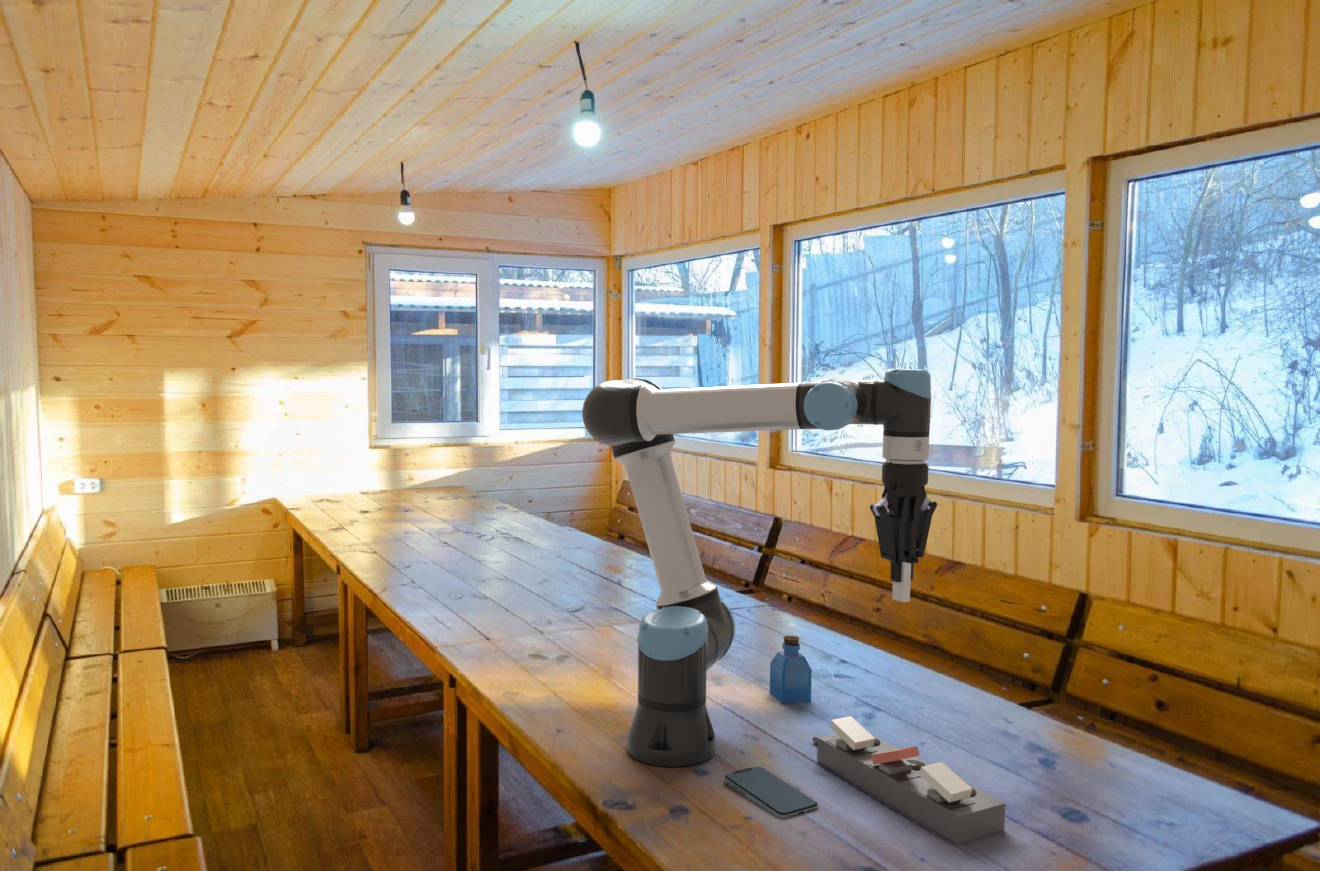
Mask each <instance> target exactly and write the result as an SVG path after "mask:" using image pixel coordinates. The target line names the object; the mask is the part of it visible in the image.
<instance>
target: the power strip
mask: <svg viewBox="0 0 1320 871" xmlns="http://www.w3.org/2000/svg"><path fill="white" fill-rule="evenodd" d="M870 734H871V735H872V736H873V737H874V738H875V741H874V745H873V746H870V747H866V748H861V749H857V750H853V749H852V748H851V747H850V746H849V745H848V744H847V743H846V742H845V741H844V740H843V739H842V738H841V737H840V736H839V735H838V734H836V733H833V734H828V735H824V736H813V737H812V742H813V743H815V744H817V746H816V748H817V750H816V752H817V753H816V761H817V762H818V763H819V764H822V765H823V766H825V767H826V768H828V769H830V770H831V771H833V772H836V773H837V774H838V775H840V776H842V777H844V778H845V779H847V780H848V781H850V782H852V783H854V784H855V785H857V786H859V787H860V788H862V789H863V790H865V791H867V792H868V793H870V794H872V795H874V796H876V797H877V798H879V799H881V801H884V802H886V803H887V804H888V805H891V806H892V807H894V808H896V809H898V810H900V811H901V812H903V813H905V814H906V815H907V816H908V817H909V816H910V817H911V818H913V819H914V820H916V821H918V822H919V823H921V824H923V825H925V826H926V827H928V828H930V829H931V830H933V831H935V832H936V833H938V834H940V835H941V836H943V837H945V838H946V839H948V840H949V841H951V842H953V843H955V844H957V845H960V844H963V843H965V842H966V843H967V842H969V841H973V840H976V839H980V838H983V837H986V836H990V835H994V834H996V833H997V834H998V833H1000V832H1003V831H1005V823H1006V822H1005V821H1006V818H1005V817H1006V802H1004V801H1001V800H1000V799H997V798H996V797H994V796H992V795H990V794H988V793H987V792H985V791H983V790H980V789H978V788H976V787H975V786H973V785H970V784H968V783H966V782H965V783H966V784H968V785H969V786H970V787H971V788H972V793H971V796H970V797H968V798H965V799H961V800H957V801H953V802H950V803H949V802H948V801H947V800H946V799H945V798H944V797H943V796H942V795H941V794H939V793H938V792H937V791H936V790H935V789H934V788H933V787H932V786H931V785H930V784H929V783H928V782H926V781H925V780H924V779H923V778H922V777H921V776H920V775H919V773H920V769H921V767H922V766H926V765H930V763H928V762H926V761H924V760H922V759H920V758H918V757H917V756H916V757H911V758H907V759H903V760H898V761H892V762H886V763H879V764H873V760H872V756H871V755H874V754H879V753H883V752H888V751H892V750H898V749H900V748H899V747H897V746H895V745H892V744H891V743H889V742H888V741H885V740H883V739H881V738H879V737H878V736H875V735H873V734H872V733H870Z"/></svg>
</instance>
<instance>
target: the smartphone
mask: <svg viewBox="0 0 1320 871" xmlns="http://www.w3.org/2000/svg"><path fill="white" fill-rule="evenodd" d="M724 783H725V784H727V786H729V787H730V788H732V789H733V790H735V791H736V792H738V793H740V794H741V795H742V796H744V797H746V798H747V799H748V800H750V801H752V802H753V803H755V804H757V805H758V806H760V807H761V808H762V809H765V810H766V811H767V812H769V813H771V814H772V815H774V816H775V817H777V818H778V819H779V818H780V819H788V818H791V817H794V816H798V815H801V814H805V813H808V812H812V811H814V810H817V809H818V802H817V801H815V800H814V799H812V798H811V797H810V796H808V795H806V794H805V793H803V792H801V791H800V790H798V789H797V788H795V787H793V786H792V785H790V784H789V783H788V782H787V781H785V780H782V779H781V778H780V777H778V776H776V775H775V774H773V773H772V772H770V771H769V770H767V769H766V768H764V767H761V766H753V767H747V768H744V769H740V770H737V771H732V772H728V773H727V774H725V775H724Z"/></svg>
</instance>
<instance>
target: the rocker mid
mask: <svg viewBox="0 0 1320 871" xmlns="http://www.w3.org/2000/svg"><path fill="white" fill-rule="evenodd" d="M871 756H872V760H873V764H879V763H886V762H892V761H898V760H903V759H907V758H911V757H916V758H917V757H919V756H921V755H920V752H919V747H918V746H917V745H916V746H911V747H909V746H908V747H904V748H899V749H898V750H892V751H888V752H883V753H879V754H874V755H871Z"/></svg>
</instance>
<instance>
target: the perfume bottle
mask: <svg viewBox="0 0 1320 871" xmlns="http://www.w3.org/2000/svg"><path fill="white" fill-rule="evenodd" d="M799 641H800V637H799V636H796V635H784V636H783V642H782V644H781V645H782V647H781V648H782V649H783V651H778V652H777V653H776V654H775V655H774V657H773V658H772V660H771V661H770V662H769V663H770V664H769V665H770V666H769V694H770V695H771V696H773V698H774V699H776V700H777V701H778V702H780V704H792V703H793V704H794V703H804V702H811V701H812V677H813V676H812V674H813V673H812V671H813V670H812V668H811V666H810V665H809V663H808V661H807V659H806V657H805V656H804V655H803V654H802V653H800V652H799V651H800V650H801V643H800V642H799Z"/></svg>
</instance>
